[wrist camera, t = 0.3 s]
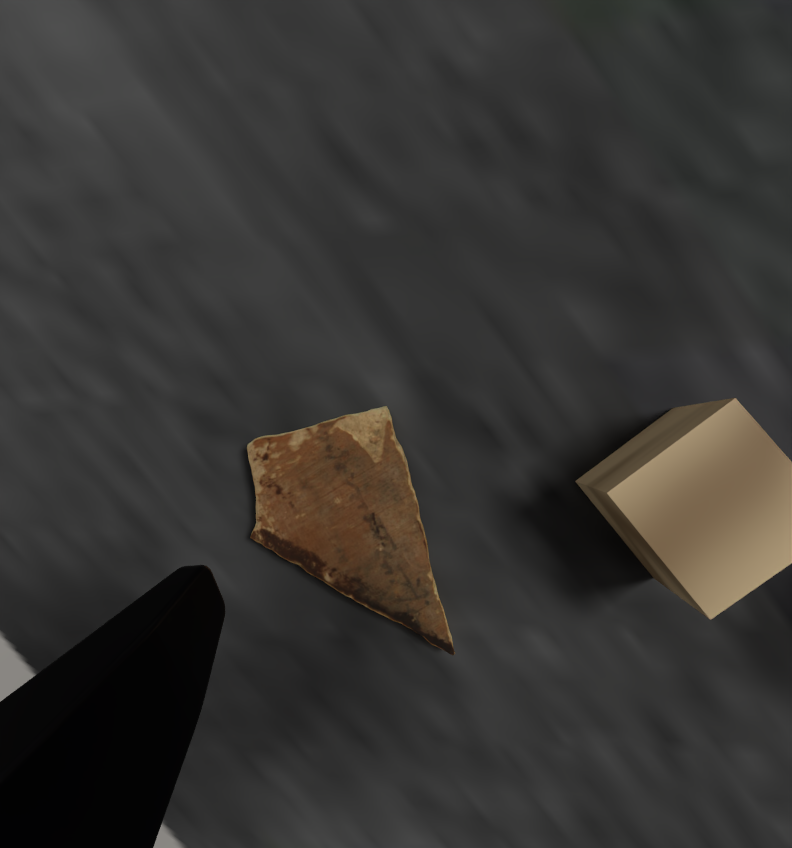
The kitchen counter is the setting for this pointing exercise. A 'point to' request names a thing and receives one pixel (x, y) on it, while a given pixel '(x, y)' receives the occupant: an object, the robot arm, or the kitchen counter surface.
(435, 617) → the shard
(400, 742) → the kitchen counter surface
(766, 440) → the honey oak cube
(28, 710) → the robot arm
